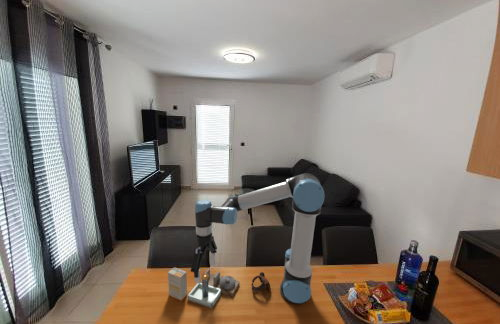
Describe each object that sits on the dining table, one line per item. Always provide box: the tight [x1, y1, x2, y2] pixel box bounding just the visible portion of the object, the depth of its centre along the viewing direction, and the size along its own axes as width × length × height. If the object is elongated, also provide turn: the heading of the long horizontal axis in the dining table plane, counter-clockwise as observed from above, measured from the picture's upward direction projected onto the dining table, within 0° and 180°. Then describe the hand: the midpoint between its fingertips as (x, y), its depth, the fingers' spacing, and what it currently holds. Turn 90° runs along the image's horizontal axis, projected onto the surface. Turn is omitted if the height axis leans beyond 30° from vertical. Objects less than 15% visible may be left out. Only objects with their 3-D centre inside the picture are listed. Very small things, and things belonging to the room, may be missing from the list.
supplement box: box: [167, 267, 188, 302], centre depth 106 cm, size 8×5×13 cm, turn 65°
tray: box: [187, 282, 222, 309], centre depth 106 cm, size 14×10×2 cm
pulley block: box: [204, 268, 240, 297], centre depth 114 cm, size 18×9×6 cm, turn 71°
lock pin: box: [200, 272, 209, 298], centre depth 106 cm, size 4×4×11 cm
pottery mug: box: [251, 271, 272, 293], centre depth 113 cm, size 12×10×8 cm
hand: (205, 273), depth 104 cm, fingers open, 13 cm apart
